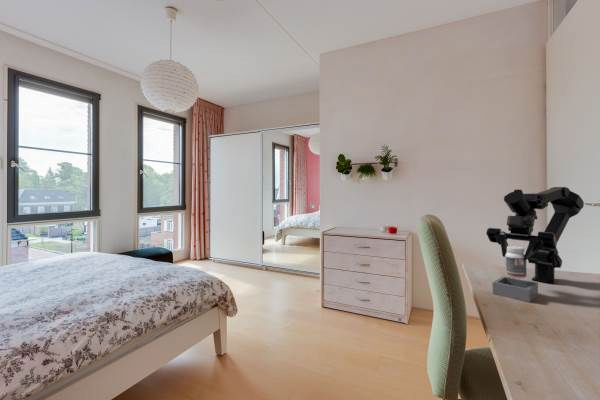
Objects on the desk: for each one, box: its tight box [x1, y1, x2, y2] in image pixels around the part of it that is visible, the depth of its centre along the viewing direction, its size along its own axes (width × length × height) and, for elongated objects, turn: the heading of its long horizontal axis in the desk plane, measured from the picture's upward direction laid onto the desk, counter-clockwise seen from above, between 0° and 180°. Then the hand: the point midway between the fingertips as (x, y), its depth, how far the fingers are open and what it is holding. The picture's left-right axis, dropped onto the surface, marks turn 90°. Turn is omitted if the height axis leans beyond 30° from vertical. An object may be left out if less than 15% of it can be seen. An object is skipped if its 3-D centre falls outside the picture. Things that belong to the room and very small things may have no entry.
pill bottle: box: [504, 245, 528, 279], centre depth 95 cm, size 6×6×10 cm
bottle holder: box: [492, 275, 539, 303], centre depth 95 cm, size 10×10×4 cm
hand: (514, 257), depth 94 cm, fingers closed on pill bottle, 6 cm apart
